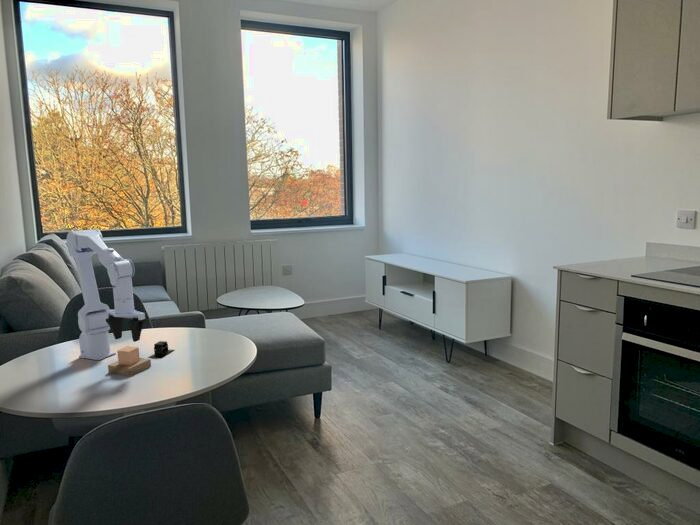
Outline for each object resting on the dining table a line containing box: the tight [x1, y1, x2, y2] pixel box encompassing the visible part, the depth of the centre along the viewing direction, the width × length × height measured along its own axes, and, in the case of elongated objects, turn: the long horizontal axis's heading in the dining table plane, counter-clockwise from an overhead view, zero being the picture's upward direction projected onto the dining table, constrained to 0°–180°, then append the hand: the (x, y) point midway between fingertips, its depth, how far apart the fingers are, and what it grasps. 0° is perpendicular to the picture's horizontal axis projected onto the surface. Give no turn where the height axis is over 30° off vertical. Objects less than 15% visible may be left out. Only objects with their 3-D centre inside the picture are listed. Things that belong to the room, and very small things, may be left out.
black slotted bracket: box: [147, 340, 176, 359], centre depth 189 cm, size 12×7×5 cm, turn 169°
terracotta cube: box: [116, 345, 141, 365], centre depth 173 cm, size 4×4×4 cm
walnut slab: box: [107, 357, 152, 377], centre depth 174 cm, size 9×9×3 cm
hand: (127, 339), depth 173 cm, fingers open, 7 cm apart
